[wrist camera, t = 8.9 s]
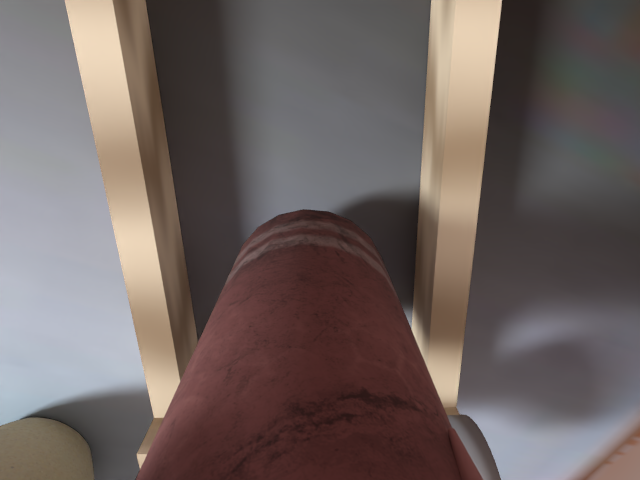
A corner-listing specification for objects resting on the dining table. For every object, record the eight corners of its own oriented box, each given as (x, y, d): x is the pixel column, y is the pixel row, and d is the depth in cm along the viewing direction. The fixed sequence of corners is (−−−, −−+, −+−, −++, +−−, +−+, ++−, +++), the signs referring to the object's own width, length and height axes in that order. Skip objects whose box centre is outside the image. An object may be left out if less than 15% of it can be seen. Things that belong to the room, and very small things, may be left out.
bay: (64, -230, 13) (-538, -1010, 4) (548, -240, 13) (1102, -1015, 4) (184, 429, 23) (95, 666, 13) (466, 419, 23) (572, 646, 14)
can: (416, 266, 17) (774, 869, 4) (314, 361, 18) (320, 1024, 5) (308, 168, 15) (281, 603, 2) (207, 281, 17) (-152, 925, 4)
